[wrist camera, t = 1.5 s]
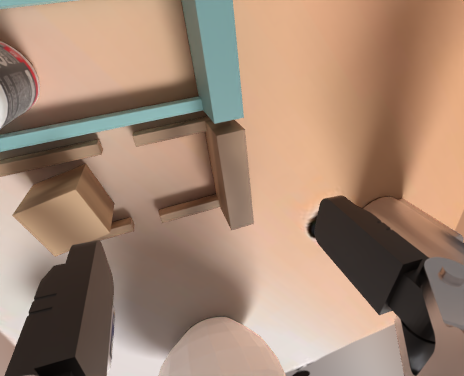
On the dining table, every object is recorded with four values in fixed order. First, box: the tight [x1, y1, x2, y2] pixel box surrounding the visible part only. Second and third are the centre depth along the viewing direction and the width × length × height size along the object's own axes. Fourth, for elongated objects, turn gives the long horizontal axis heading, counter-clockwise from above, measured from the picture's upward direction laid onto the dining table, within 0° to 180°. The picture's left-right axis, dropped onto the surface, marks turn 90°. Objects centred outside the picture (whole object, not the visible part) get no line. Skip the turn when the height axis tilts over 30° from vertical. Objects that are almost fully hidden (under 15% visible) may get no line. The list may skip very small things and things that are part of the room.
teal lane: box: [0, 0, 244, 152], centre depth 18 cm, size 22×10×6 cm, turn 98°
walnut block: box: [12, 164, 114, 257], centre depth 24 cm, size 5×5×5 cm
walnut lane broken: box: [0, 116, 254, 241], centre depth 24 cm, size 20×10×6 cm, turn 98°
